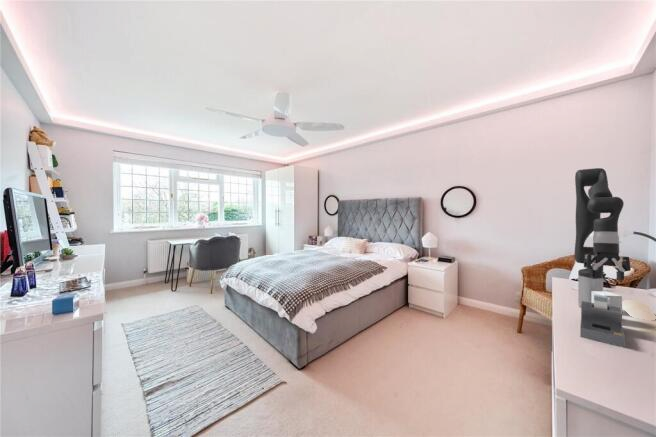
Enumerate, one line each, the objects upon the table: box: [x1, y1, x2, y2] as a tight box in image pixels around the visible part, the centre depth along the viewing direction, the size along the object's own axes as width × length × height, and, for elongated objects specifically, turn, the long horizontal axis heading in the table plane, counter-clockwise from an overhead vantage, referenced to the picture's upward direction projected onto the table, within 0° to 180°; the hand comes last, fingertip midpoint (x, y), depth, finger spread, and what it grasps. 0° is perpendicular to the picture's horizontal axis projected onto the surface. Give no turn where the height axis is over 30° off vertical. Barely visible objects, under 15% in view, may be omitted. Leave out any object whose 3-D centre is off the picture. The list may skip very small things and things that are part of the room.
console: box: [579, 301, 626, 348], centre depth 107 cm, size 24×12×9 cm, turn 133°
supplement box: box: [591, 290, 623, 314], centre depth 119 cm, size 7×7×13 cm
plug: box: [594, 295, 610, 309], centre depth 111 cm, size 3×5×8 cm, turn 43°
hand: (606, 279), depth 106 cm, fingers open, 8 cm apart
